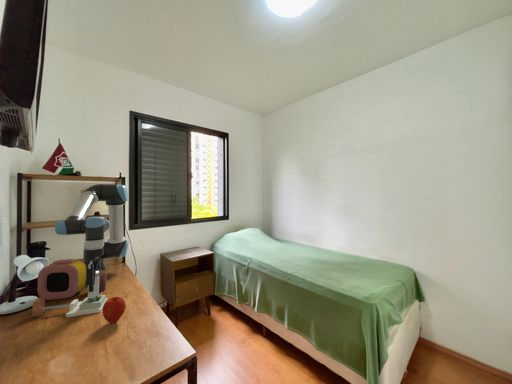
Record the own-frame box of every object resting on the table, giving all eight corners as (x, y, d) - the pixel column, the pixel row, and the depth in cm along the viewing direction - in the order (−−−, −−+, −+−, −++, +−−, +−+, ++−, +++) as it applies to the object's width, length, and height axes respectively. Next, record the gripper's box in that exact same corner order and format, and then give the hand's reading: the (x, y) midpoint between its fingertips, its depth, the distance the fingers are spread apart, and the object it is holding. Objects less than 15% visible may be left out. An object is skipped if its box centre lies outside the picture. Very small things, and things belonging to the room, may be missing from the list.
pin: (75, 310, 101) (75, 296, 102) (32, 317, 96) (32, 301, 96) (78, 307, 105) (78, 292, 105) (36, 313, 99) (37, 298, 99)
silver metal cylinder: (89, 301, 107) (90, 270, 107) (100, 299, 108) (100, 269, 109) (86, 305, 103) (86, 273, 103) (97, 303, 104) (97, 272, 104)
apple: (129, 318, 96) (130, 294, 96) (113, 330, 88) (113, 303, 88) (114, 316, 98) (115, 292, 99) (96, 326, 90) (97, 301, 90)
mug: (99, 286, 130) (99, 269, 130) (111, 288, 128) (111, 270, 128) (79, 295, 118) (79, 276, 118) (92, 297, 116) (92, 278, 117)
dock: (99, 312, 101) (100, 303, 101) (65, 317, 97) (65, 308, 97) (107, 300, 113) (107, 292, 113) (77, 305, 108) (77, 296, 108)
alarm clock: (35, 302, 111) (36, 264, 111) (50, 292, 121) (52, 258, 122) (76, 298, 114) (77, 262, 115) (87, 290, 125) (88, 256, 126)
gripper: (91, 244, 113) (90, 289, 112) (77, 253, 97) (76, 305, 96) (108, 243, 116) (107, 287, 115) (97, 251, 99) (96, 302, 99)
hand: (93, 295), depth 105 cm, fingers closed on silver metal cylinder, 4 cm apart
